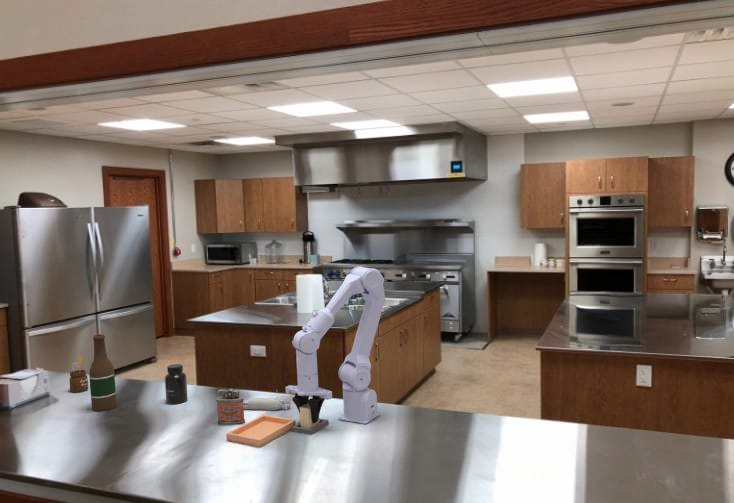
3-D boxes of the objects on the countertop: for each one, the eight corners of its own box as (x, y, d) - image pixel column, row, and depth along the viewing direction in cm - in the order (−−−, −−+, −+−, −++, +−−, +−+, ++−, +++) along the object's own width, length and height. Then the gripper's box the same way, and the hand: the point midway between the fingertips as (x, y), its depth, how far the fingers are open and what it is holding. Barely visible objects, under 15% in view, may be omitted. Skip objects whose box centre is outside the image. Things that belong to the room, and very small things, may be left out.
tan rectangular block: (319, 425, 168) (318, 403, 167) (309, 431, 164) (308, 408, 163) (311, 423, 169) (309, 401, 169) (300, 430, 165) (299, 407, 164)
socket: (328, 424, 169) (328, 419, 168) (311, 434, 161) (311, 430, 161) (309, 420, 172) (309, 416, 172) (291, 431, 164) (291, 427, 164)
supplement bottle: (165, 405, 191) (162, 369, 190) (167, 399, 198) (164, 364, 197) (187, 403, 193) (184, 367, 192) (188, 396, 199) (186, 362, 199)
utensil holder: (67, 393, 209) (64, 360, 208) (74, 388, 216) (71, 356, 215) (84, 392, 210) (81, 359, 209) (91, 387, 216) (88, 355, 215)
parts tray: (295, 426, 167) (295, 420, 167) (260, 447, 154) (259, 440, 154) (263, 421, 173) (263, 414, 173) (226, 440, 160) (226, 433, 160)
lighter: (246, 420, 174) (244, 387, 174) (242, 425, 171) (240, 391, 170) (220, 420, 175) (217, 387, 174) (216, 425, 172) (213, 391, 171)
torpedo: (232, 411, 183) (230, 391, 183) (238, 406, 188) (236, 386, 187) (287, 412, 180) (286, 391, 180) (292, 407, 185) (291, 387, 184)
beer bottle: (121, 407, 192) (115, 334, 190) (96, 413, 187) (90, 339, 185) (112, 402, 198) (106, 331, 196) (88, 408, 192) (81, 335, 190)
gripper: (277, 374, 165) (280, 422, 166) (321, 380, 158) (323, 429, 159) (293, 368, 171) (295, 413, 173) (335, 373, 164) (337, 420, 165)
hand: (310, 421), depth 166 cm, fingers closed on tan rectangular block, 3 cm apart
